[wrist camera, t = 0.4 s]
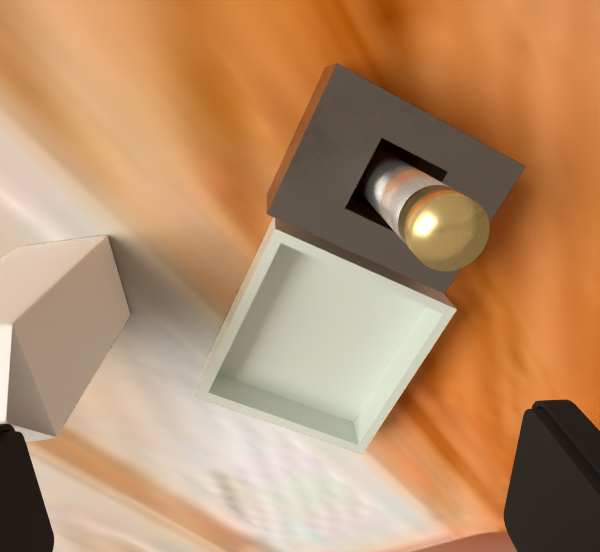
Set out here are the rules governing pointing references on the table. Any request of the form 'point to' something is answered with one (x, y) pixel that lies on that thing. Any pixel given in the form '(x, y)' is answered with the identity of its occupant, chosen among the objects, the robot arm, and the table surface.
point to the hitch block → (355, 157)
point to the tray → (321, 339)
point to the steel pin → (425, 213)
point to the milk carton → (55, 329)
